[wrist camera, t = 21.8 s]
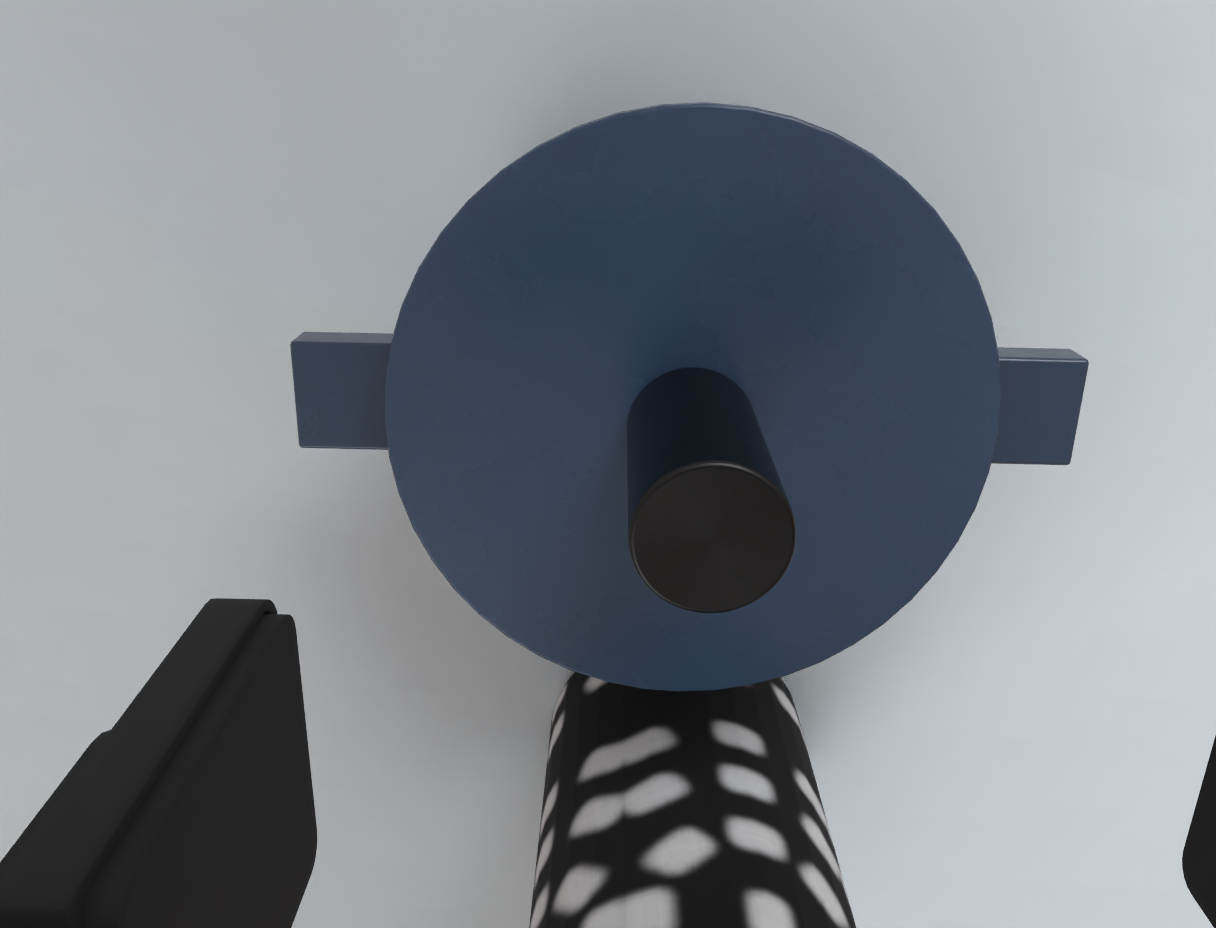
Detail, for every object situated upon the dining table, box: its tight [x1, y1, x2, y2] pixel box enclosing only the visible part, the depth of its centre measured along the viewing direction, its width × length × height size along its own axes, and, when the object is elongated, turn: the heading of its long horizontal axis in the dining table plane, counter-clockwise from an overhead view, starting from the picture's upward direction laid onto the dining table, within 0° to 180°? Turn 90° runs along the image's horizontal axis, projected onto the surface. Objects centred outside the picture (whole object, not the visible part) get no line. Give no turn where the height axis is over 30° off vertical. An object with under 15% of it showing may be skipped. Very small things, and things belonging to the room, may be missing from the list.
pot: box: [290, 332, 1089, 465], centre depth 26 cm, size 12×17×9 cm
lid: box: [385, 102, 1001, 691], centre depth 19 cm, size 12×12×7 cm
